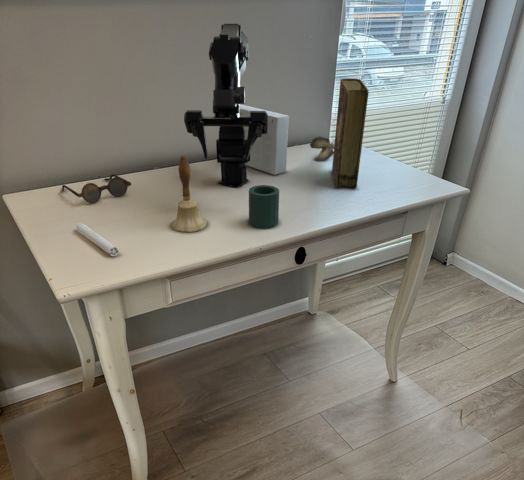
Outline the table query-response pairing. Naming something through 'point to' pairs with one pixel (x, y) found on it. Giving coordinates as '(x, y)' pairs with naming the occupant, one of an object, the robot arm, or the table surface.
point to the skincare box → (269, 142)
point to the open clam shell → (323, 148)
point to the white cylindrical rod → (97, 239)
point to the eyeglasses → (93, 192)
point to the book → (349, 132)
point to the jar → (263, 206)
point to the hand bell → (187, 204)
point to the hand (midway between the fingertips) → (226, 158)
